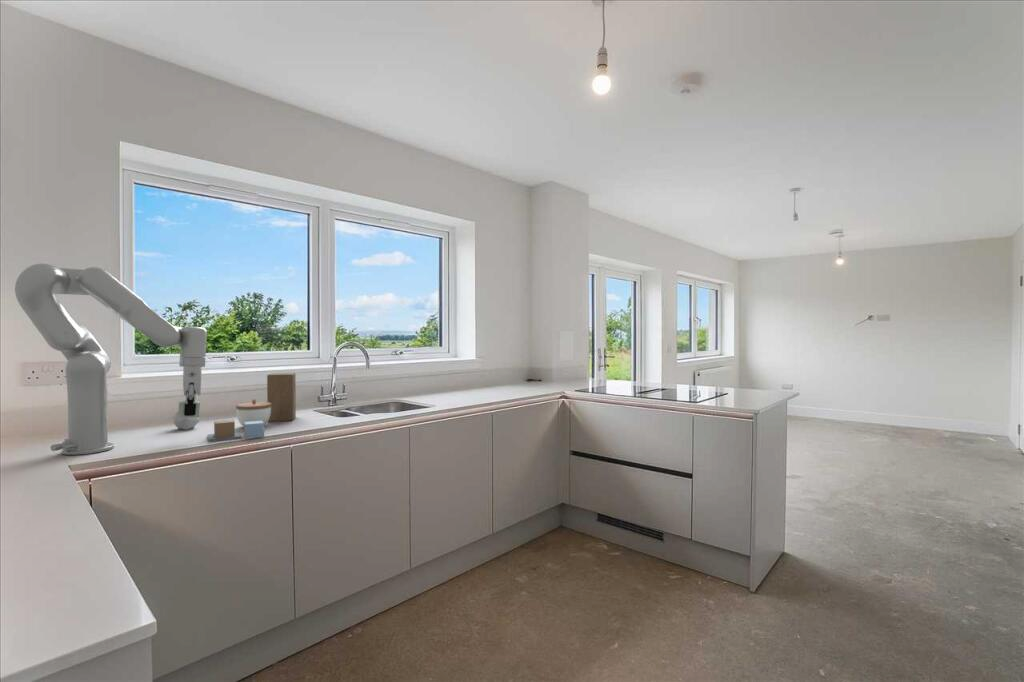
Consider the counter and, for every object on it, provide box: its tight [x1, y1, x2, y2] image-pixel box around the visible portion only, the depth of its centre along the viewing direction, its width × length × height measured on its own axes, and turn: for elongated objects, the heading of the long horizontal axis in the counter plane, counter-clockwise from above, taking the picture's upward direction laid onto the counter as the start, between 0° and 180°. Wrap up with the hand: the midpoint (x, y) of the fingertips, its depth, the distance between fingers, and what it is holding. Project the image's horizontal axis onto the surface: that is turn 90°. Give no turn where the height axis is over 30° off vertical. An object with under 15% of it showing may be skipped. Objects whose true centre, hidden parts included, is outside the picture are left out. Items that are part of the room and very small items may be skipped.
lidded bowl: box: [235, 398, 272, 427], centre depth 198 cm, size 13×13×11 cm
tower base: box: [207, 418, 242, 442], centre depth 177 cm, size 10×10×6 cm
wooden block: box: [266, 372, 297, 423], centre depth 214 cm, size 10×10×20 cm
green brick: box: [177, 400, 201, 418], centre depth 171 cm, size 6×6×5 cm
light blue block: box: [243, 421, 265, 439], centre depth 181 cm, size 6×6×5 cm
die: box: [173, 411, 200, 431], centre depth 193 cm, size 8×9×10 cm
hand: (189, 413), depth 171 cm, fingers closed on green brick, 6 cm apart
